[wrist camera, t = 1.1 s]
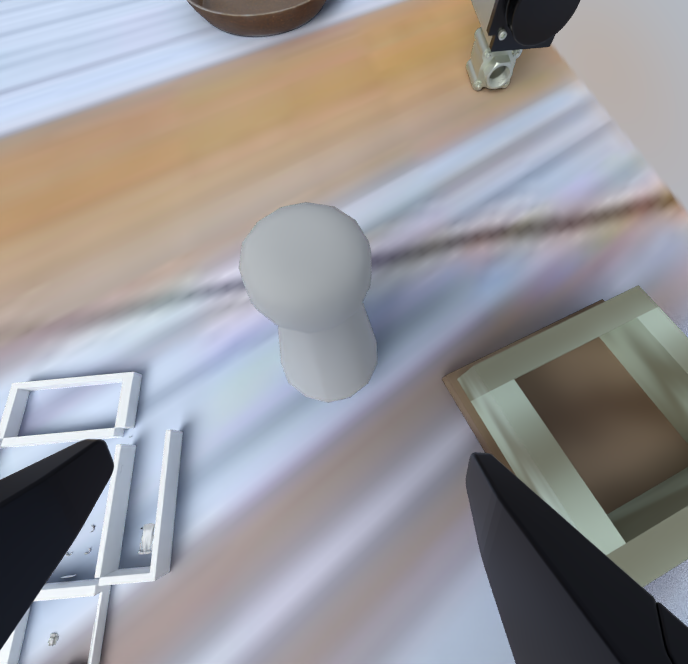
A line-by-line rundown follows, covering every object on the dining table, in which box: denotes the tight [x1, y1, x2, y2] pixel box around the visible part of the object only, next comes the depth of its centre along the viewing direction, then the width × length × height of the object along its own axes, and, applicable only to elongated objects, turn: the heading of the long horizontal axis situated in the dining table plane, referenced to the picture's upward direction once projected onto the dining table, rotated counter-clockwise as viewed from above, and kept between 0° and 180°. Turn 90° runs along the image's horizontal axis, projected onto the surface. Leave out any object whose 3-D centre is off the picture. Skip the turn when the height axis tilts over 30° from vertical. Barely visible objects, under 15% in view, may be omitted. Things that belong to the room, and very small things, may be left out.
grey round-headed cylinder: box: [239, 202, 377, 403], centre depth 16 cm, size 6×6×13 cm
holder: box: [442, 285, 688, 587], centre depth 18 cm, size 12×12×4 cm
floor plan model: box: [0, 372, 183, 664], centre depth 19 cm, size 19×25×2 cm
